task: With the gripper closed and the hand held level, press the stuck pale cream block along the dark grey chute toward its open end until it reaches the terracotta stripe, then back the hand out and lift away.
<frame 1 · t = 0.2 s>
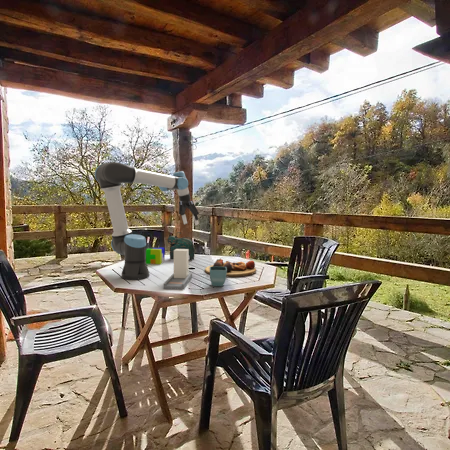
hand: (191, 224, 219), 27 cm above the table, tool tilted 15°, fingers open, 13 cm apart
wooden plate with food: (230, 272, 197), on the table
puzzle toy: (155, 263, 220), on the table
grey chute: (178, 282, 168), on the table
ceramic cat: (181, 259, 235), on the table
cream block: (181, 263, 173), point 9 cm above the table, slide at 0.0 cm
flower pot: (217, 285, 165), on the table
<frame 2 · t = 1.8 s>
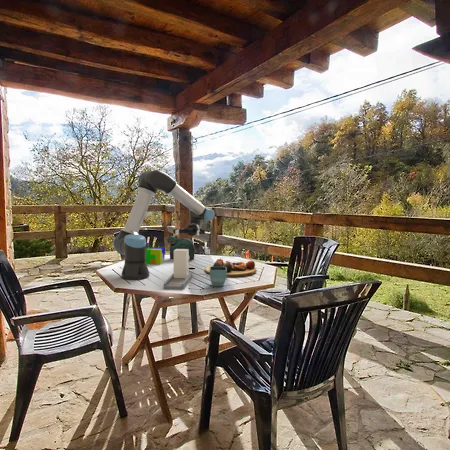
hand: (186, 233, 188), 24 cm above the table, tool horizontal, fingers open, 12 cm apart
nothing on the table moved.
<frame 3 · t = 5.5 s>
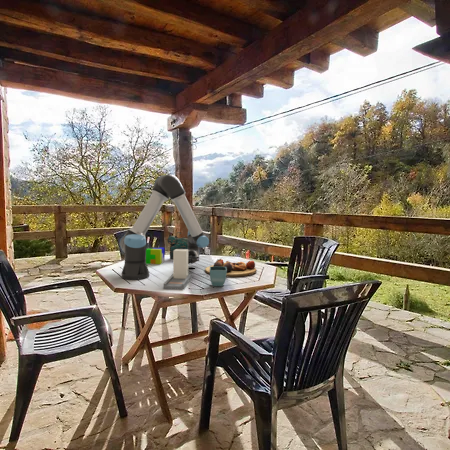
hand: (183, 264, 176), 8 cm above the table, tool horizontal, fingers closed
cream block: (180, 263, 173), point 9 cm above the table, slide at 0.8 cm, touching gripper
everything else where it was.
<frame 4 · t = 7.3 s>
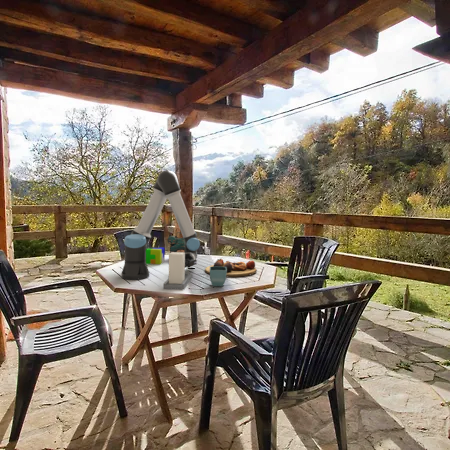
hand: (180, 267, 166), 8 cm above the table, tool horizontal, fingers closed
cream block: (176, 267, 162), point 9 cm above the table, slide at 11.0 cm, touching gripper
everything else where it was.
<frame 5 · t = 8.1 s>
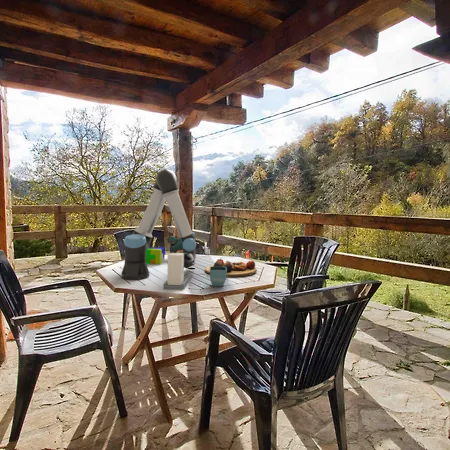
hand: (177, 268, 163), 8 cm above the table, tool horizontal, fingers closed
cream block: (175, 268, 160), point 9 cm above the table, slide at 13.5 cm, touching gripper
everything else where it was.
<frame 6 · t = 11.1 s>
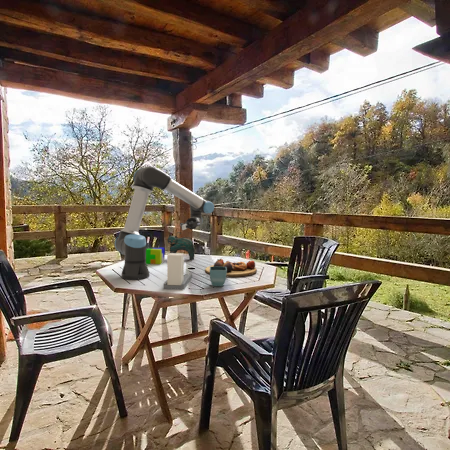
hand: (183, 227, 183), 28 cm above the table, tool horizontal, fingers closed
cream block: (175, 269, 160), point 9 cm above the table, slide at 13.8 cm
everything else where it was.
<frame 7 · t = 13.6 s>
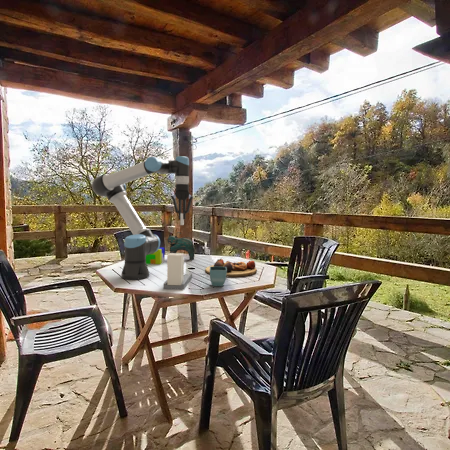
hand: (182, 224, 184), 29 cm above the table, tool pointing down, fingers closed
nothing on the table moved.
at the end: cream block slide at 13.8 cm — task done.
